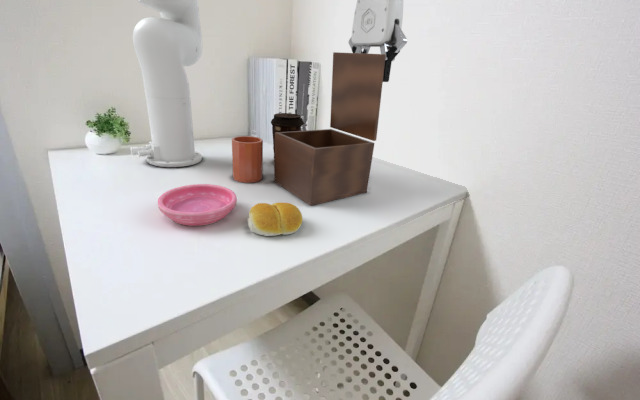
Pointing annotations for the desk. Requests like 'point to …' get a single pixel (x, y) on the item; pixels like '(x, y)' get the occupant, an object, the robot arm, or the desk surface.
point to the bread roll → (274, 219)
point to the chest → (322, 164)
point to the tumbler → (247, 159)
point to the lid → (357, 93)
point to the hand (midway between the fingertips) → (370, 79)
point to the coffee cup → (285, 124)
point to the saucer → (197, 204)
